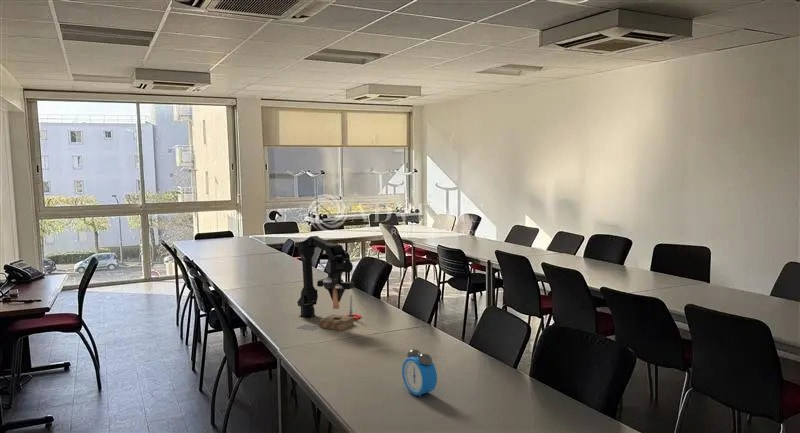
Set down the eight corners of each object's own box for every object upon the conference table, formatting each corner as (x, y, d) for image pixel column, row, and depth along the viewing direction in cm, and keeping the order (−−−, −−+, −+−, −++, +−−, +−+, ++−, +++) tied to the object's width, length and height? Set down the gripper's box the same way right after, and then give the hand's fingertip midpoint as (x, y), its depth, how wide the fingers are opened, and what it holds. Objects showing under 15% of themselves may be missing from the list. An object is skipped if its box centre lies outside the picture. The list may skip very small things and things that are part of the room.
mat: (295, 328, 281) (295, 328, 281) (305, 324, 289) (305, 324, 289) (312, 331, 277) (312, 330, 277) (322, 327, 284) (322, 326, 284)
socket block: (319, 328, 282) (319, 320, 282) (333, 322, 293) (333, 314, 293) (340, 331, 277) (340, 323, 277) (353, 324, 288) (353, 316, 287)
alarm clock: (401, 389, 206) (401, 348, 204) (415, 385, 209) (415, 345, 208) (423, 401, 195) (423, 358, 194) (438, 397, 199) (438, 354, 197)
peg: (332, 308, 283) (331, 288, 282) (335, 307, 286) (334, 287, 285) (337, 309, 282) (336, 289, 281) (340, 307, 285) (340, 288, 284)
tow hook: (347, 316, 306) (342, 320, 297) (347, 292, 305) (342, 295, 296) (362, 316, 305) (358, 320, 296) (362, 292, 304) (358, 295, 295)
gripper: (310, 271, 279) (311, 303, 281) (343, 274, 271) (343, 307, 273) (323, 267, 289) (323, 298, 291) (355, 270, 281) (355, 301, 283)
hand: (336, 301), depth 284 cm, fingers closed on peg, 3 cm apart
